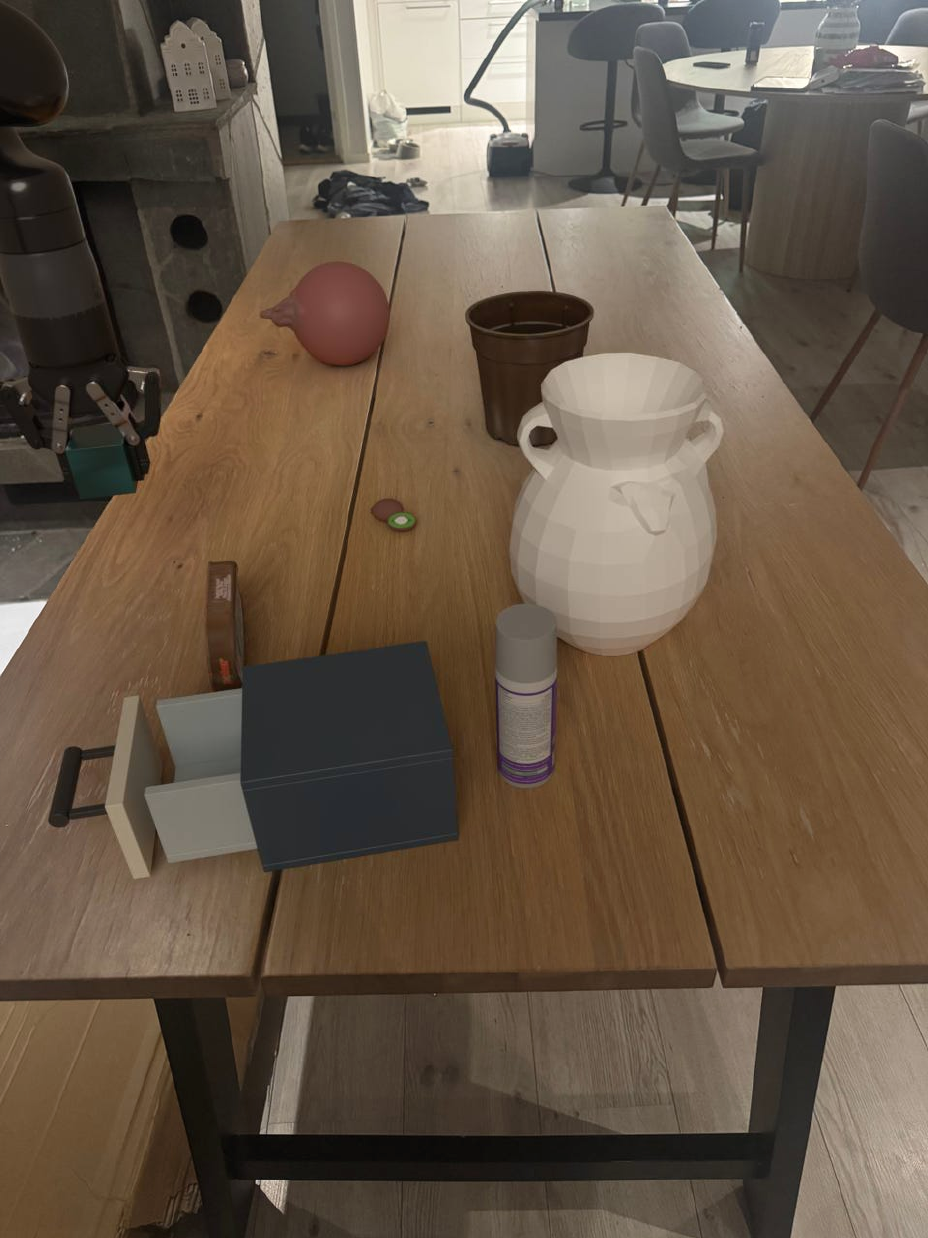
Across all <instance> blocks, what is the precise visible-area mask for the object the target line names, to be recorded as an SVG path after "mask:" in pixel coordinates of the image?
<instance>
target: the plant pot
mask: <svg viewBox="0 0 928 1238" xmlns="http://www.w3.org/2000/svg"><path fill="white" fill-rule="evenodd" d="M594 315H595V309H594V306H593V305H592V304H591V303H590V302H588V301H587V300H585V299H584V298H581V297H579V296H577V295H573V294H570V293H566V292H559V291H552V290H551V291H550V290H528V291H525V290H524V291H513V292H512V291H511V292H505V293H500V294H495V295H492V296H489V297H486V298H483V299H480V300H478V301H476V302H474V303H472V304H471V305H470V306H469V307H468V308H467V309H466V310H465V313H464V318H465V323H466V324H467V325H468V326H469V331H470V338H471V344H472V345H471V346H472V349H473V350H474V351H475V357H476V363H477V369H478V375H479V383H480V390H481V396H482V405H483V413H484V421H485V428H486V431H487V433H488V434H489V436H490V437H491V438H492V439H494V440H496V441H499V440H502V441H504V442H505V443H506V444H507V445H511V446H518V447H520V446H519V442H518V439H517V432H518V428H519V425H520V423H521V420H522V417H523V416H524V415H525V414H526V413H527V412H528V411H529V410H530V409H532V408H534V407H535V406H537V405H538V404H540V403H541V402H543V399H542V393H541V384H542V382H543V381H544V380H545V378H546V377H547V375H548V374H549V373H550V371H551V370H552V369H554V368H556V367H557V366H559V365H561V364H563V363H564V362H567V361H570V360H574V359H577V358H581V357H584V351H585V350H584V349H585V348H586V345H587V343H588V337H589V330H590V322H592V320H593V319H594ZM557 439H558V438H557V435H556V432H555V431H554V429H553V428H551V427H544V426H536V427H535V428H533V429H532V430H531V432H530V434H529V440H530V444H531V445H532V446H533V447H539V446H540V447H541V446H545V445H552V444H553V443H554V442H555V441H556V440H557Z"/></svg>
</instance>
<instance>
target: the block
mask: <svg viewBox="0 0 928 1238" xmlns="http://www.w3.org/2000/svg"><path fill="white" fill-rule="evenodd" d="M127 444H128V443H127V441H126V440H125V438H124V437H123V436H122V434H121V433H120V431H119V430H118V429H117V428H116V427H114V426H113V425H112V424H111V423H103V424H95V425H85V426H83V425H82V426H75V427H73V428H72V430H71V433H70V439H69V442H68V444H67V447H66V449H65V452H66V455H67V458H68V461H69V465H70V468H71V471H72V474H73V477H74V480H75V483H76V487H77V488H76V490H77V492H78V495H79V499H80V500H87V499H89V500H90V499H97V498H105V497H106V498H107V497H113V496H115V497H116V496H123V495H132V494H136V493H137V489H138V485H139V481H136V479H135V475H134V472H133V468H132V464H131V461H130V457H129V453H128V450H127Z"/></svg>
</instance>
